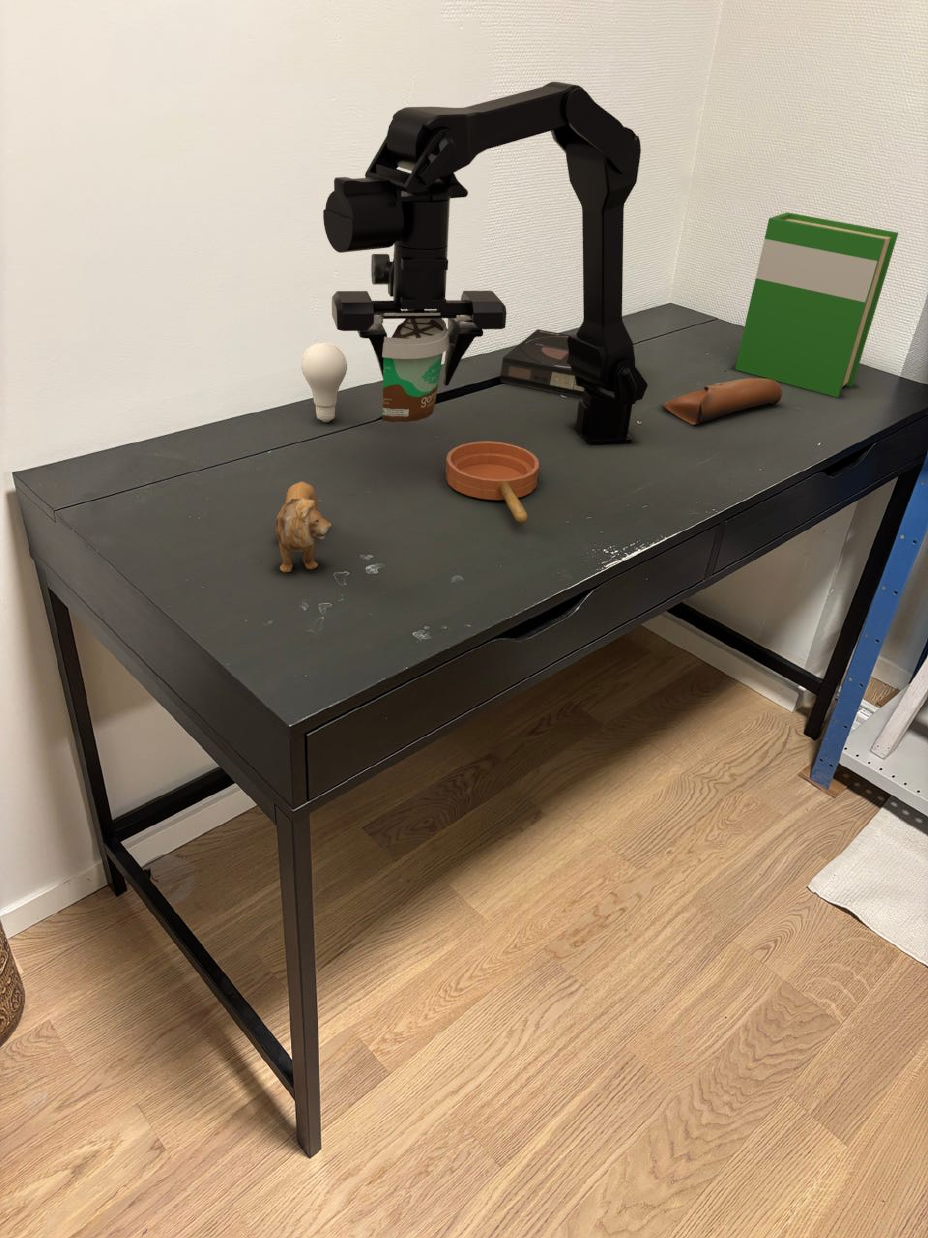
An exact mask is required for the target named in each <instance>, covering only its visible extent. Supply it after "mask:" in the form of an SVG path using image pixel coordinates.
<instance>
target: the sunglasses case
mask: <svg viewBox="0 0 928 1238" xmlns="http://www.w3.org/2000/svg"><path fill="white" fill-rule="evenodd" d="M782 396H783V389H782V386H781V385H780V382H779V381H776V380H772V379H768V378H765V377H753V378H752V377H750V378H740V379H735V380H729V381H724V382H723V381H722V382H719V383H718V382H716V383H714V384H709V385H705V386H704V388H703V389H700V390H696V391H691V392H688V393H686V394H682V395H680V396H678V397H675V398H673V399H670V400H668V401H667V402H665V403H664V404H663V408H664V409H665V410H667V411H668V412H669V413H671V414H672V415H673V416H675V417H676V418H678V419H680V420H682V421H684V422H686V423H688V424H690V425H692V426H695V425H698V424H700V423H702V422H703V423H705V422H708V421H712V420H713V419H716V418H720V417H723V415H725V416H726V415H728V414H731V413H733V412H739V411H743V410H747V409H751V408H753V407H754V408H755V407H760V406H762V405H767V404H770V403H772V404H775V405H776V404H778V403H779V402H780V401H781V400H782V398H783V397H782Z"/></svg>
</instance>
